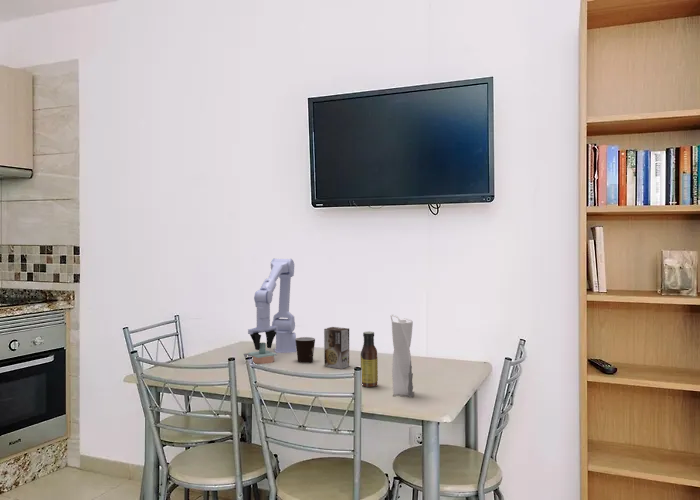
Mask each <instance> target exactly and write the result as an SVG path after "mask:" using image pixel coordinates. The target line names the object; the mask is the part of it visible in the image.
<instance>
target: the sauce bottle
mask: <svg viewBox="0 0 700 500" xmlns="http://www.w3.org/2000/svg"><path fill="white" fill-rule="evenodd" d="M362 336H363V345H362V348H361V351H360V369H361V368H362V384H363V387H365V388H366V387H367V388H374V387H377V385H378V380H379V375H378V373H379V371H378V366H379V364H378V361H379V360H378V349H377V347H376V346H375V339H374V338H375V332H374V331H370V330H369V331H364V332H363V334H362ZM362 384H361V385H362Z"/></svg>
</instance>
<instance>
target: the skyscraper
mask: <svg viewBox="0 0 700 500" xmlns="http://www.w3.org/2000/svg"><path fill="white" fill-rule="evenodd" d="M393 317H394V318H397V320H394V321H393ZM390 319H391V331H392V332H391V335H392V345H393V353H392V364H391V365H392V367H391V368H392V370H391V372H392V373H391V374H392V376H391V377H392V379H391V380H392V393H393V394H392V397H396V396H400V397H401V398H414V395H415V391H414V385H413V376H414V373H412V369H413V367H412V355H411V350H410V348H411V343H412V335H413V320H412V319H409V318H400V317H399V316H397V315H394V314H391V315H390Z"/></svg>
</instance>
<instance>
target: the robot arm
mask: <svg viewBox="0 0 700 500" xmlns="http://www.w3.org/2000/svg"><path fill="white" fill-rule="evenodd" d="M270 269H271V270H270V273H269V276H268V278H264V281H263V283H262V284H261V286H260V288H259V289H258V290H257V291H255V293H254V297H253V300H254V303H255V304H254V305H255V307H256V327H254V328H250V329H247V334H249V336H250V338H251V340H252V342H253V345H254V346H253V347H254V349H255V350H256V351H259V349H260V343H261V338H262V335H261V334H260V333H265V336H266V337H265V338H266V349H272V346H273V342H274V339H275V348H274V349H273V350H274V353H276V354H284V353H285V354H286V353H297V349H296V340H295V339H296V338H297V336H296V335H297V334H296V332H294V330H295V329H296V322H295V316H294V314H292V313H291V312H290V297H291V279H292V278H293V277H294V276H295V275H294V274H295V263H294V260H293V259H292V258H272V259H271V262H270ZM278 279H279V280H280V281H279V293H278V294H279V296H278V312H277V313H275V314H274V315H273V318H272V322H271V303H272V301H273V296H274V292H275V289H276V288H277V287H276V286H277V281H278Z"/></svg>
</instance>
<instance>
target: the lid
mask: <svg viewBox="0 0 700 500" xmlns="http://www.w3.org/2000/svg"><path fill="white" fill-rule="evenodd" d="M266 349H267V342H260V349H259V350H257V351H251V352H250V351H249V352H248V354H249V355H251V356H254V357H257V358H261V357H268V356H274V357H276V356H277V353H276V352H272V351H271V350H270V351H269V350H268V349H267V350H266Z"/></svg>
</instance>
